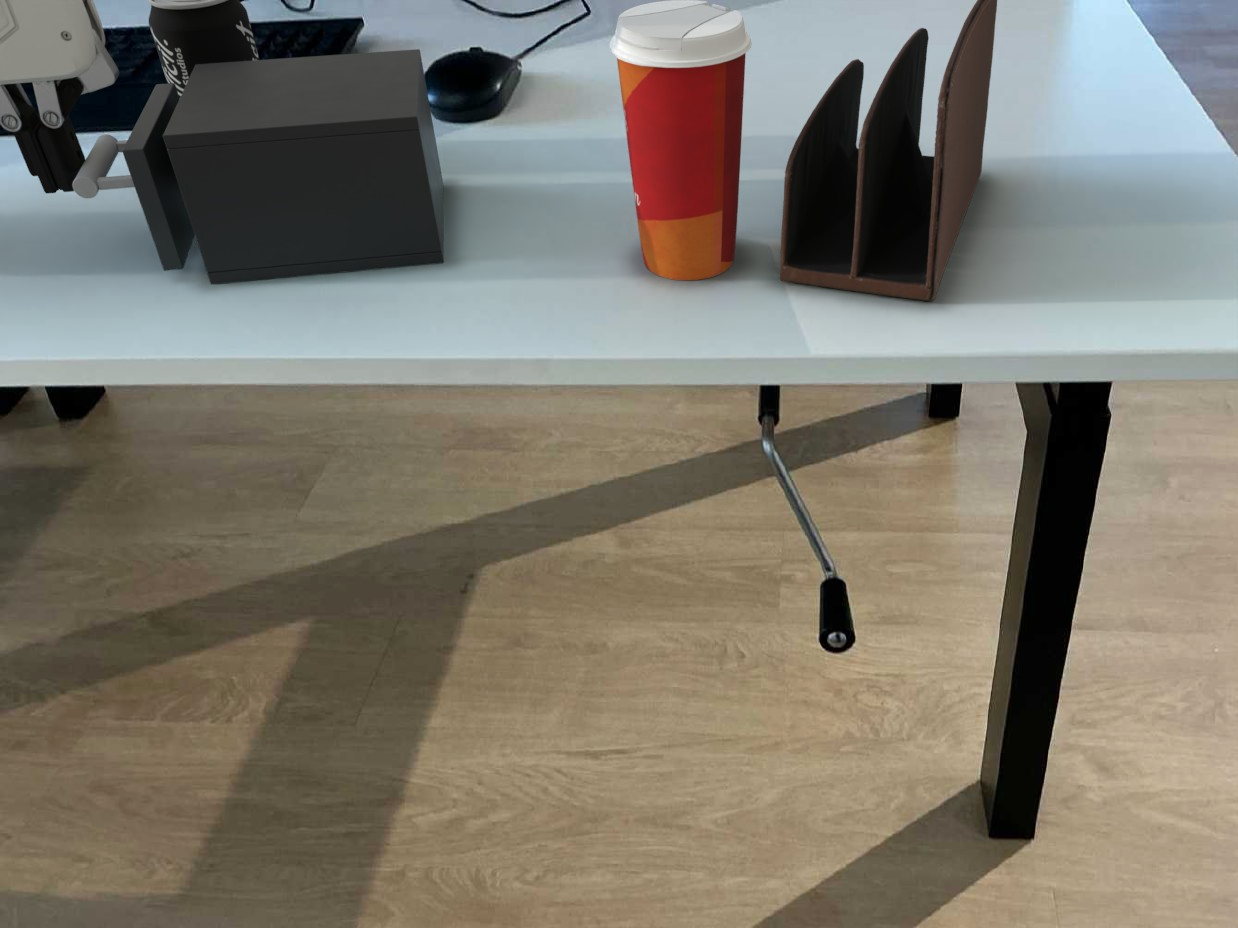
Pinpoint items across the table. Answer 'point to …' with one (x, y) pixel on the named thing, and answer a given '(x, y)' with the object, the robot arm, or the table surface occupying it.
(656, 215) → the coffee cup
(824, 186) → the letter holder
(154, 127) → the drawer
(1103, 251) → the table surface
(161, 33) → the beverage can
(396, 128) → the cabinet
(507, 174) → the table surface
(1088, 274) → the table surface
